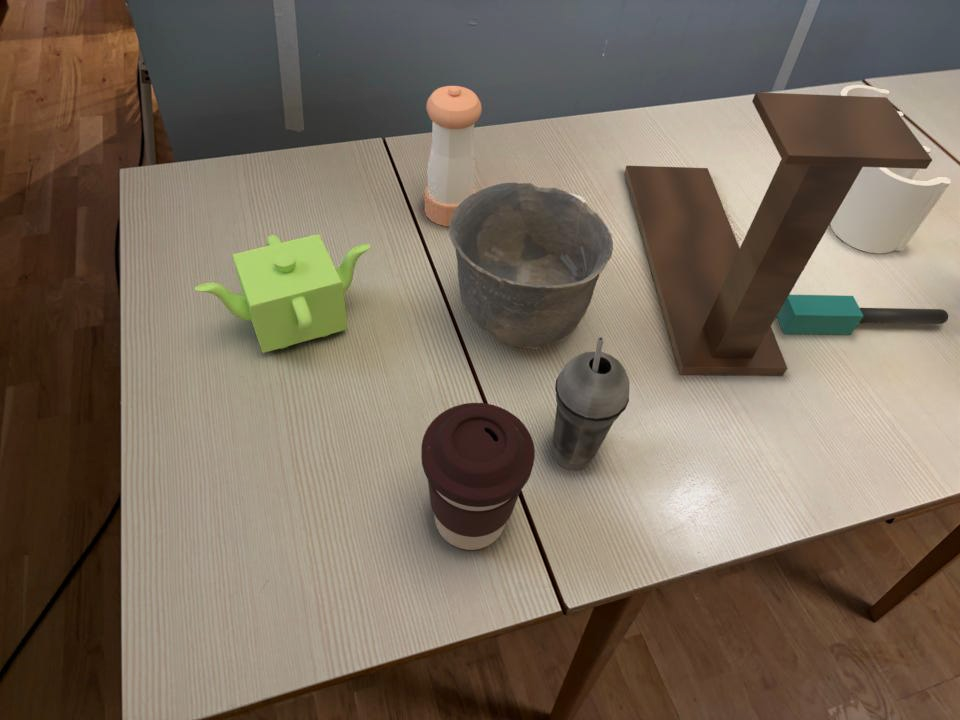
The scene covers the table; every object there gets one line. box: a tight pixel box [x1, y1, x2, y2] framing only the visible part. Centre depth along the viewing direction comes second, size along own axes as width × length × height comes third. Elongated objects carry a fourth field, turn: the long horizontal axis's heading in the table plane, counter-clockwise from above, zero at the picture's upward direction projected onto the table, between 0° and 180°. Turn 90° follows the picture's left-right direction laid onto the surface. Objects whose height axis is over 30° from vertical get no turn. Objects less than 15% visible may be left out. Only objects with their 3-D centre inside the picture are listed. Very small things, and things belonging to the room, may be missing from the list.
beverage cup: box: [551, 336, 630, 471], centre depth 70 cm, size 7×7×20 cm
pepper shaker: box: [424, 85, 483, 227], centre depth 95 cm, size 7×7×19 cm
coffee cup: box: [420, 402, 536, 551], centre depth 66 cm, size 10×10×15 cm
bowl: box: [448, 182, 614, 349], centre depth 84 cm, size 18×18×15 cm
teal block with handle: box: [776, 294, 949, 336], centre depth 92 cm, size 22×4×4 cm, turn 92°
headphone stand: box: [623, 91, 933, 377], centre depth 86 cm, size 13×41×32 cm, turn 2°
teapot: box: [194, 233, 372, 354], centre depth 83 cm, size 15×13×11 cm
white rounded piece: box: [829, 84, 952, 254], centre depth 106 cm, size 25×10×12 cm, turn 179°
